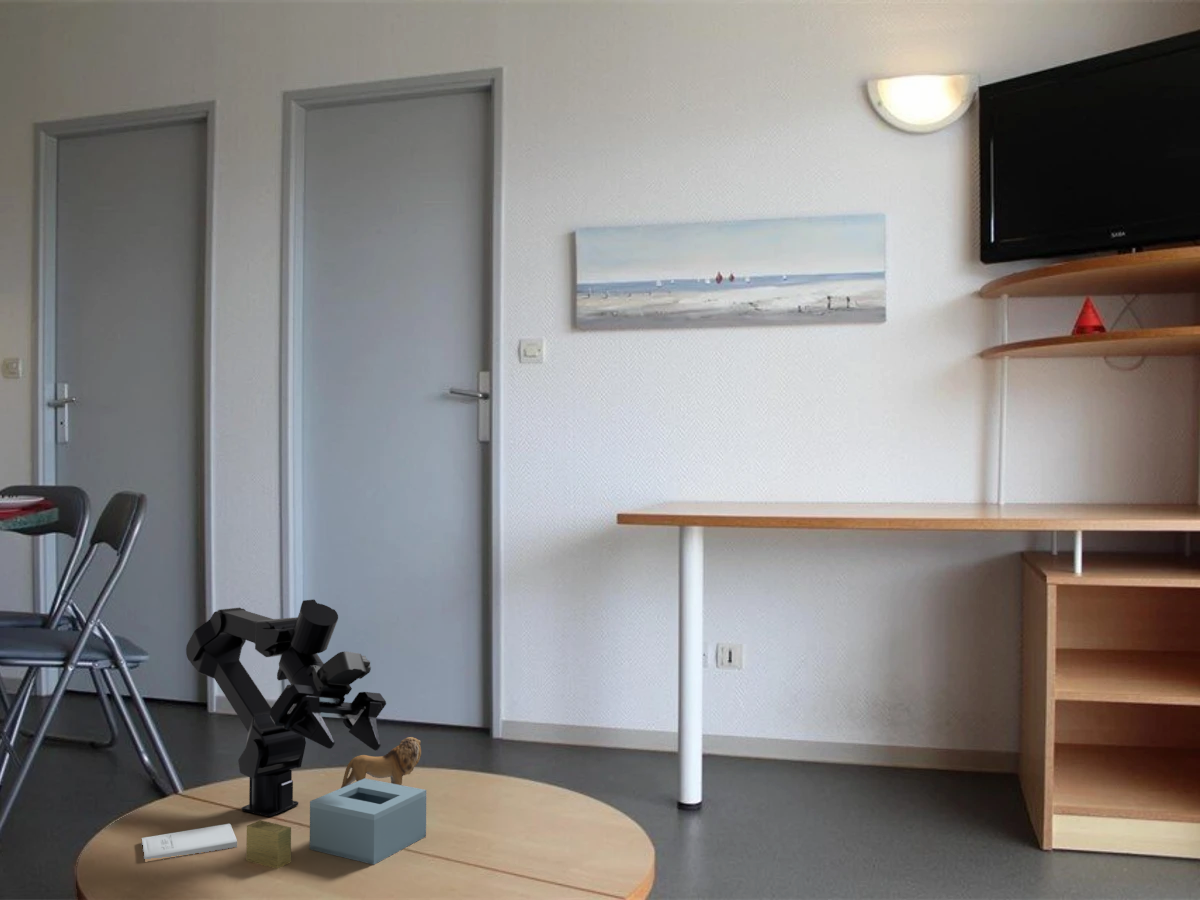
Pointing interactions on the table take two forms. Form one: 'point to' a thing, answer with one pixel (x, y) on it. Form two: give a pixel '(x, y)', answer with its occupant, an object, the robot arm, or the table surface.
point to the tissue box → (367, 820)
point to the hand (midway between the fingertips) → (355, 747)
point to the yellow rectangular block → (268, 844)
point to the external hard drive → (189, 842)
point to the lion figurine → (386, 763)
